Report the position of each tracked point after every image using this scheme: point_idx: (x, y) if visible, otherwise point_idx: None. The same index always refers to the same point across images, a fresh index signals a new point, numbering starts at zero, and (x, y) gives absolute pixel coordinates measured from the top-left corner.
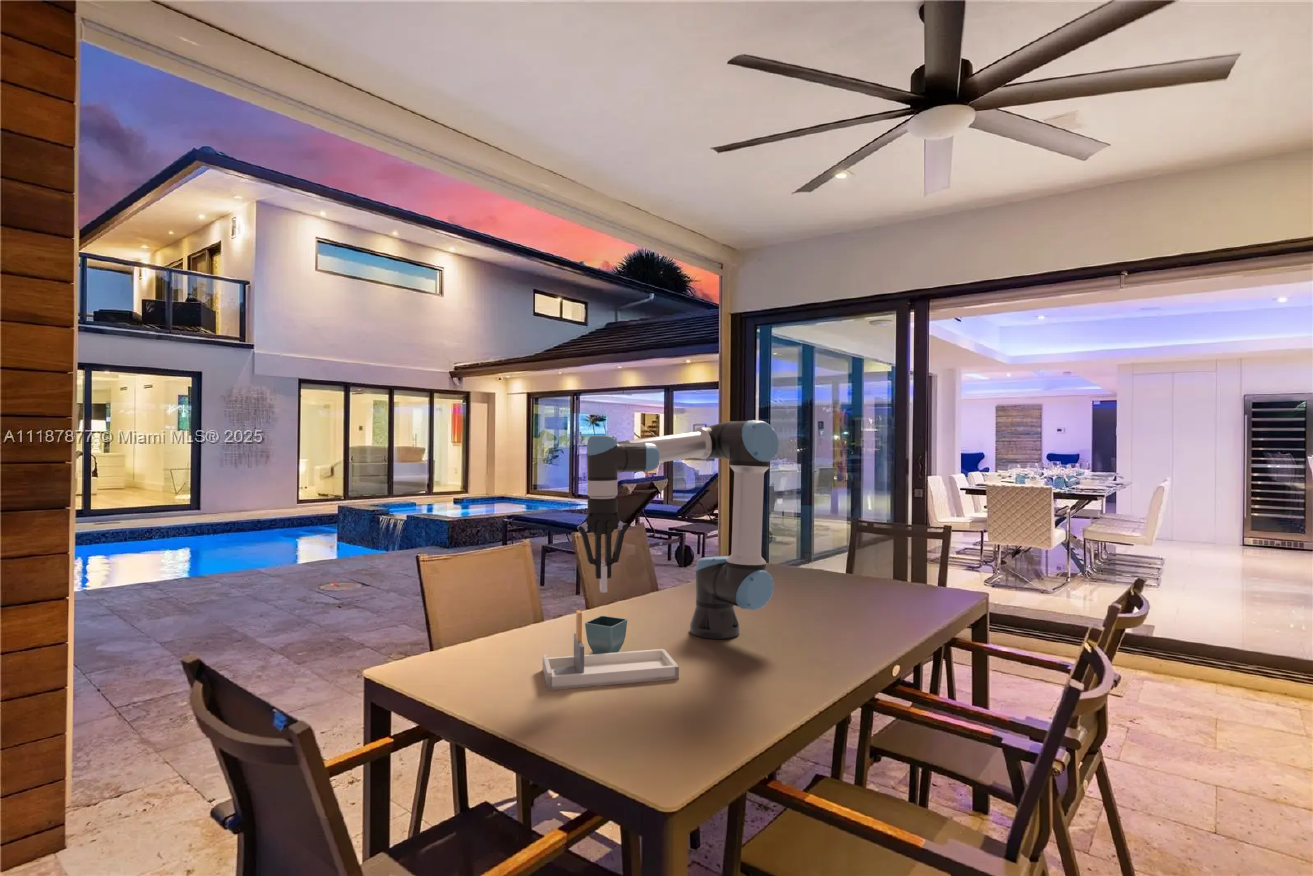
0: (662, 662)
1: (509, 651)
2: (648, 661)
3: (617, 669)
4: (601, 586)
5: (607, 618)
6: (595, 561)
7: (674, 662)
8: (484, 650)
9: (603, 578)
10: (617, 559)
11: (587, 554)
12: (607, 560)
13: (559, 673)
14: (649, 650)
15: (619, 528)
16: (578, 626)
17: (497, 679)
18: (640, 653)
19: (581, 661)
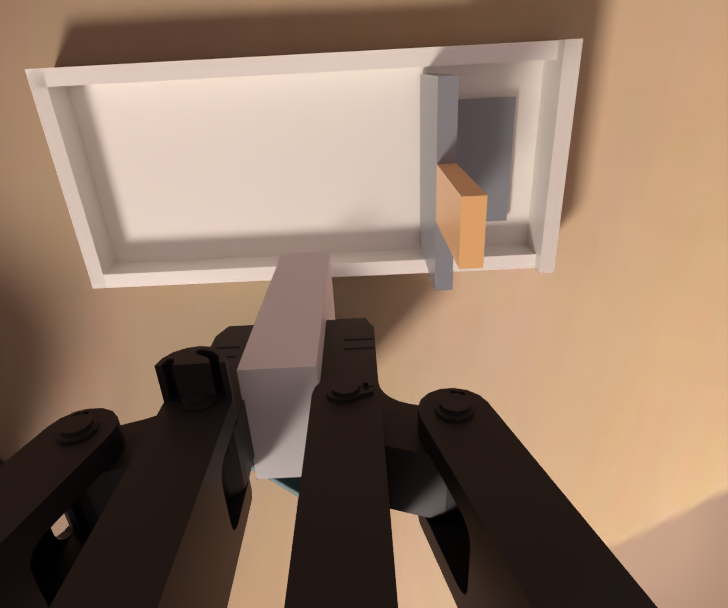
0: (112, 223)
1: (601, 427)
2: (164, 243)
3: (282, 180)
4: (326, 269)
5: (286, 479)
6: (391, 434)
7: (45, 124)
8: (671, 446)
9: (301, 299)
10: (52, 439)
11: (558, 495)
12: (211, 424)
13: (500, 154)
14: (148, 280)
15: None
16: (467, 178)
17: (698, 192)
18: (185, 269)
19: (440, 74)
